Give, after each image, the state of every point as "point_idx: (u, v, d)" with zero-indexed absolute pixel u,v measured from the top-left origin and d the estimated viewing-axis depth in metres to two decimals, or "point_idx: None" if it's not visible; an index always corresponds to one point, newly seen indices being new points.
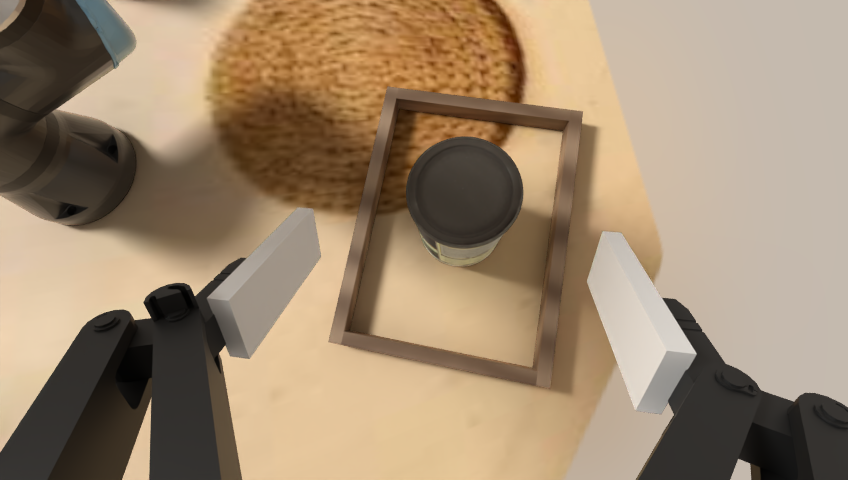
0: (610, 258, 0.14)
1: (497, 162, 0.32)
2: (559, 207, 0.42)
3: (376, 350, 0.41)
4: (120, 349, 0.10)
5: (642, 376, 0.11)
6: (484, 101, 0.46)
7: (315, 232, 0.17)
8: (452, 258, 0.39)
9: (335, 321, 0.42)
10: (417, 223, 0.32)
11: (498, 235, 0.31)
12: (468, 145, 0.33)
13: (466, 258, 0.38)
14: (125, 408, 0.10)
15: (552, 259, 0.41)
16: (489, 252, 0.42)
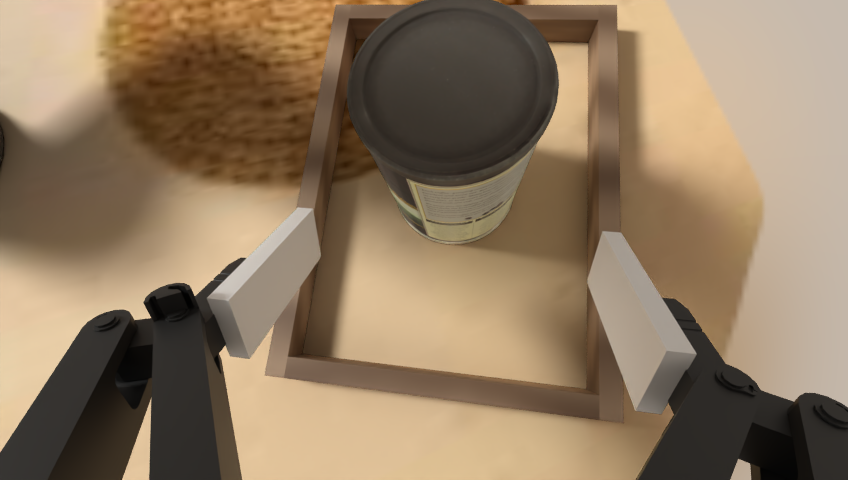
0: (610, 258, 0.14)
1: (505, 30, 0.18)
2: (600, 140, 0.28)
3: (339, 382, 0.26)
4: (120, 349, 0.10)
5: (642, 376, 0.11)
6: None
7: (315, 232, 0.17)
8: (444, 224, 0.24)
9: (274, 342, 0.27)
10: (369, 146, 0.17)
11: (521, 151, 0.16)
12: (451, 9, 0.19)
13: (466, 221, 0.24)
14: (125, 408, 0.10)
15: (599, 217, 0.27)
16: (501, 216, 0.28)
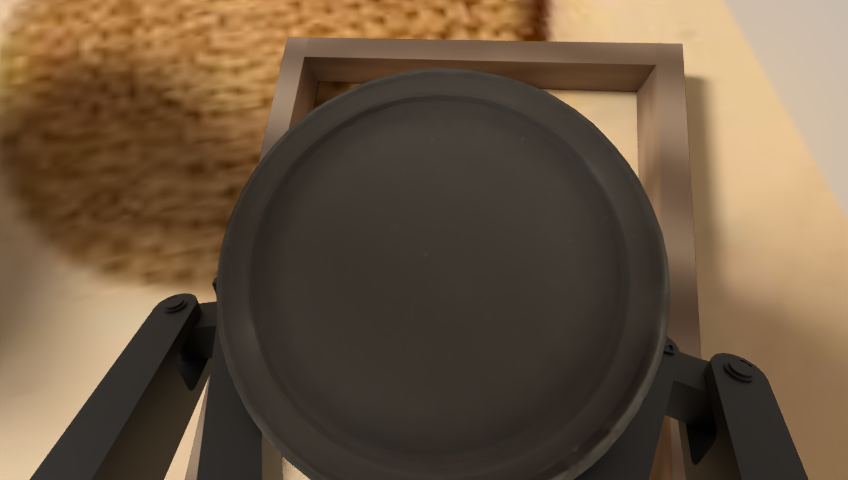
0: None
1: (547, 147, 0.09)
2: (666, 250, 0.19)
3: None
4: (184, 332, 0.11)
5: None
6: (477, 45, 0.23)
7: None
8: None
9: None
10: (253, 412, 0.08)
11: (592, 457, 0.07)
12: (436, 97, 0.09)
13: None
14: (183, 389, 0.10)
15: None
16: None
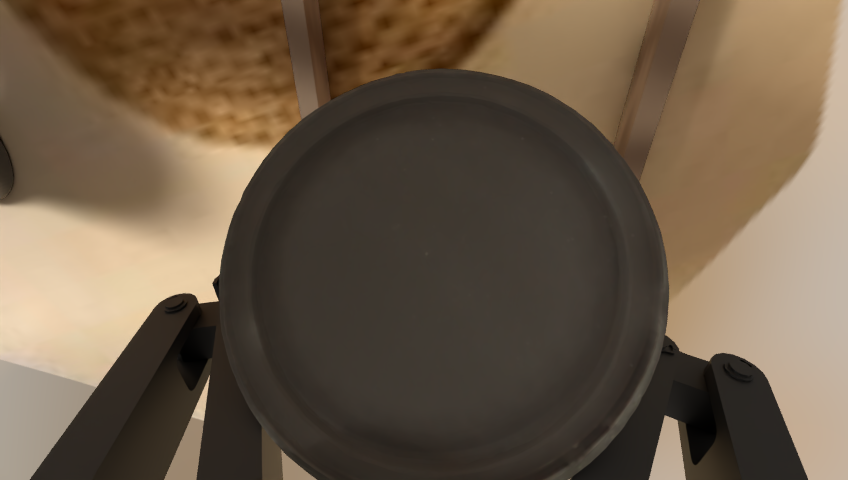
0: None
1: (546, 148, 0.09)
2: (640, 109, 0.23)
3: None
4: (184, 332, 0.11)
5: None
6: None
7: None
8: None
9: None
10: (256, 410, 0.08)
11: (592, 453, 0.07)
12: (436, 98, 0.09)
13: None
14: (183, 389, 0.10)
15: None
16: None
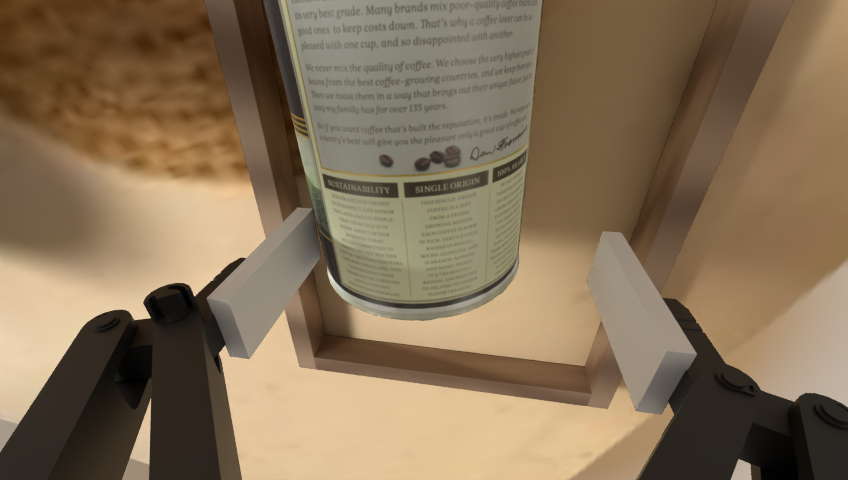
0: (610, 258, 0.14)
1: None
2: (694, 148, 0.17)
3: (363, 374, 0.30)
4: (120, 349, 0.10)
5: (642, 376, 0.11)
6: None
7: (315, 232, 0.17)
8: (348, 188, 0.13)
9: (297, 348, 0.29)
10: None
11: None
12: None
13: (385, 178, 0.12)
14: (125, 408, 0.10)
15: (648, 256, 0.21)
16: (473, 262, 0.14)
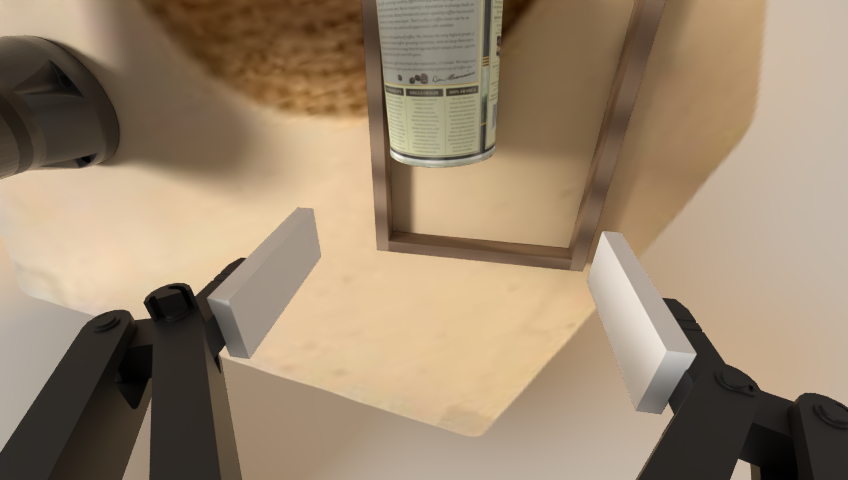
0: (610, 258, 0.14)
1: None
2: (622, 86, 0.32)
3: (421, 253, 0.45)
4: (120, 349, 0.10)
5: (642, 376, 0.11)
6: None
7: (315, 232, 0.17)
8: (389, 90, 0.30)
9: (378, 234, 0.44)
10: None
11: None
12: None
13: (399, 85, 0.29)
14: (125, 408, 0.10)
15: (602, 155, 0.35)
16: (437, 138, 0.29)
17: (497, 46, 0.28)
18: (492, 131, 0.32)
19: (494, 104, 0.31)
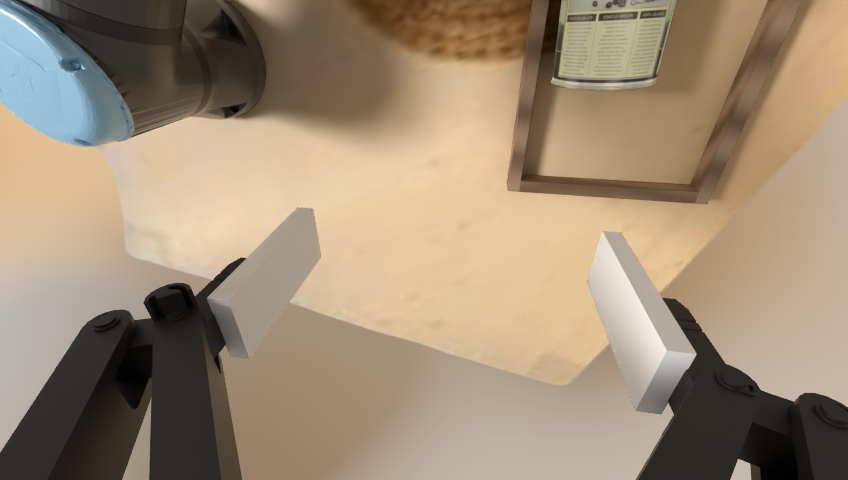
0: (610, 258, 0.14)
1: None
2: (778, 17, 0.35)
3: (551, 192, 0.48)
4: (120, 349, 0.10)
5: (642, 376, 0.11)
6: None
7: (315, 232, 0.17)
8: (576, 19, 0.33)
9: (512, 174, 0.48)
10: None
11: None
12: None
13: (592, 11, 0.32)
14: (125, 408, 0.10)
15: (747, 85, 0.39)
16: (621, 60, 0.33)
17: None
18: (661, 58, 0.35)
19: None
